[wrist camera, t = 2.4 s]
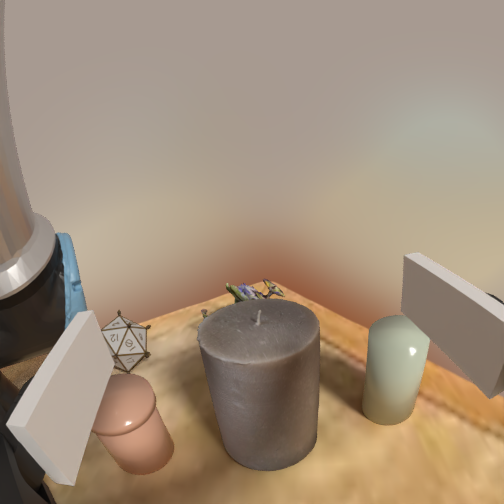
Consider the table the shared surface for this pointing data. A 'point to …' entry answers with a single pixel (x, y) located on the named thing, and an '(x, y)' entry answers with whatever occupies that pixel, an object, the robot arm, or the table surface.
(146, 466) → the peach round-topped cylinder
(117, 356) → the game die
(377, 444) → the table surface
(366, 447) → the table surface
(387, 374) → the pale green cylinder
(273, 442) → the pillar candle
